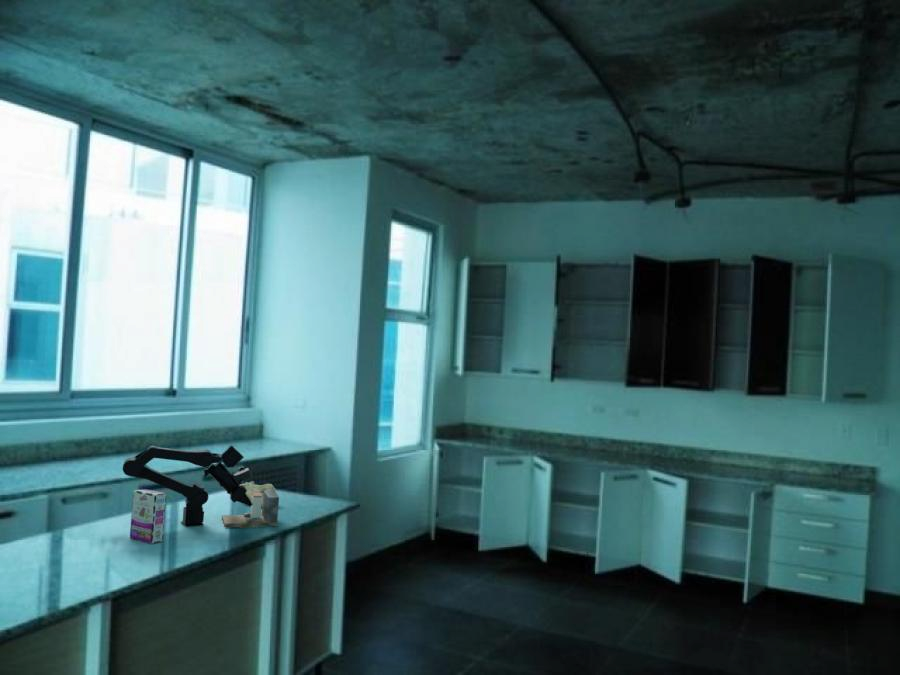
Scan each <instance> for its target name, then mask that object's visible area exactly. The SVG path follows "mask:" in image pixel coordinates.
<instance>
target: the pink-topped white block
mask: <svg viewBox="0 0 900 675" xmlns="http://www.w3.org/2000/svg"><path fill="white" fill-rule="evenodd" d="M251 503H252V505H251V506H250V512H249V513H250V517H251V518H260V516H261V515H262V507H261V503H262V495H261V493H252V499H251Z"/></svg>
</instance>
